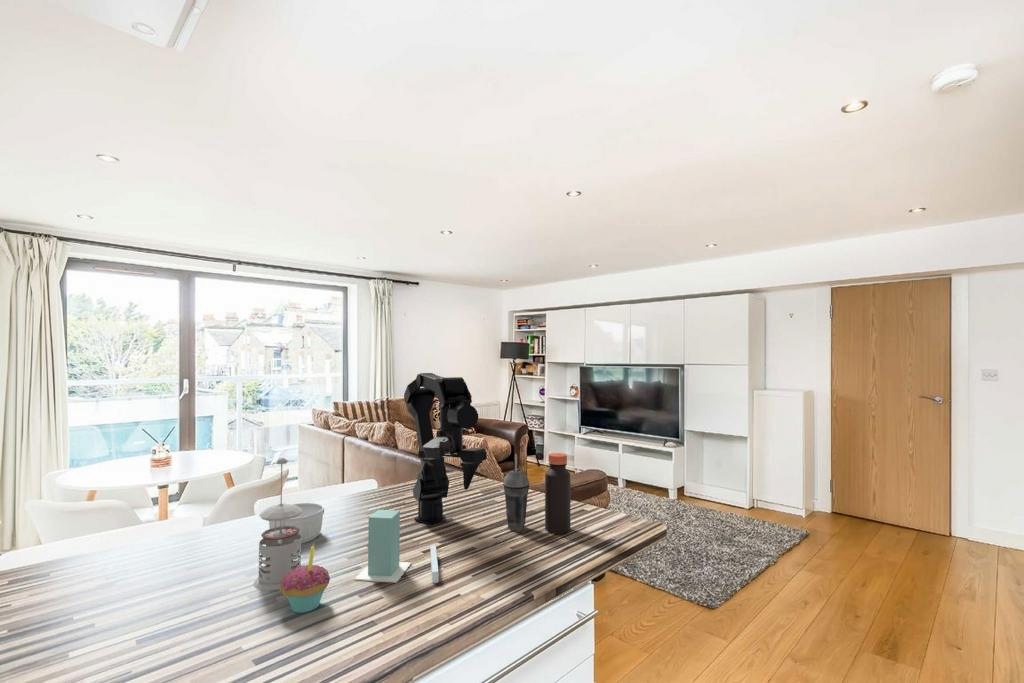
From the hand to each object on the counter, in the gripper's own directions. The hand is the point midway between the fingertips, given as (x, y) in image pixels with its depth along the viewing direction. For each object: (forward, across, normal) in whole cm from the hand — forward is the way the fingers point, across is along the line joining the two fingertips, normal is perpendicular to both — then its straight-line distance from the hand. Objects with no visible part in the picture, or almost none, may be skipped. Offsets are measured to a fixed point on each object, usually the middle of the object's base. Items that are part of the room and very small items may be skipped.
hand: (452, 487), depth 123 cm
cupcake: (+14, -1, -41) cm, 43 cm away
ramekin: (+12, -34, -22) cm, 42 cm away
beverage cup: (+13, +9, +15) cm, 22 cm away
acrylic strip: (+14, +8, -15) cm, 22 cm away
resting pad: (+13, 0, -23) cm, 26 cm away
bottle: (+13, +19, +20) cm, 31 cm away
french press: (+13, -16, -37) cm, 42 cm away
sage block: (+13, 0, -23) cm, 26 cm away
